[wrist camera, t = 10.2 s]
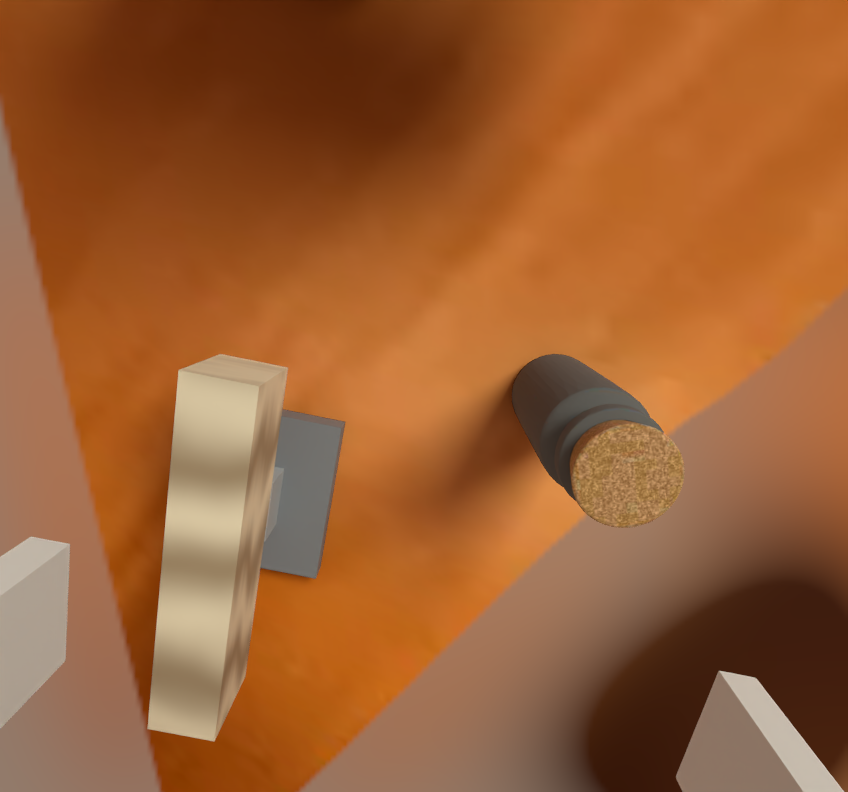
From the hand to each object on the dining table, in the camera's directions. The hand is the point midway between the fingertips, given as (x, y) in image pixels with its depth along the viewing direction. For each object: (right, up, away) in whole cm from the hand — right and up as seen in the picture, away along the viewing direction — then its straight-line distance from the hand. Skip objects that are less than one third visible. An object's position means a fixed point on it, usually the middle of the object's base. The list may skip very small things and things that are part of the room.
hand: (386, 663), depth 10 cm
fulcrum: (-11, -1, +28) cm, 30 cm away
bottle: (+10, +6, +26) cm, 28 cm away
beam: (-11, -3, +22) cm, 25 cm away
